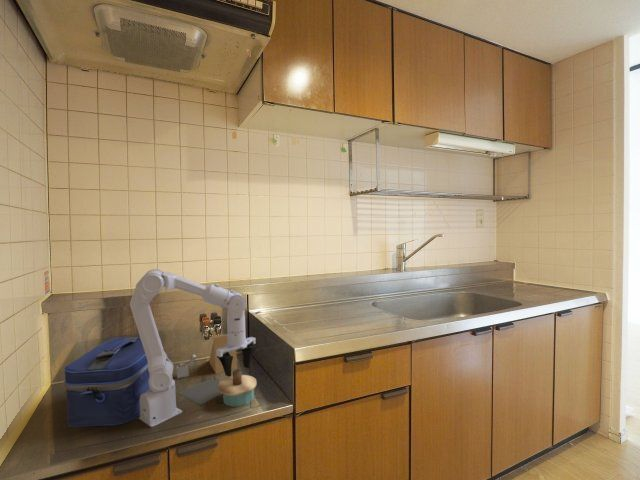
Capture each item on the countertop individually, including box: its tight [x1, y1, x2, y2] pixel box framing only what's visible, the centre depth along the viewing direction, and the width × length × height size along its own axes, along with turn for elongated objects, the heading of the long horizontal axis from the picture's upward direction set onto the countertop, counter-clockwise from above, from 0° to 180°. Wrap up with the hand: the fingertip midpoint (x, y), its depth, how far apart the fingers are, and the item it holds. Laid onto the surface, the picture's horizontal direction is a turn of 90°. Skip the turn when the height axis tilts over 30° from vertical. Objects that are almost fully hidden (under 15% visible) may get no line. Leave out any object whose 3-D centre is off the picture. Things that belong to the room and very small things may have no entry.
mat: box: [178, 378, 223, 406], centre depth 116 cm, size 13×13×1 cm
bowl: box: [222, 388, 255, 407], centre depth 111 cm, size 10×10×4 cm
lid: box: [218, 369, 257, 395], centre depth 111 cm, size 12×12×5 cm
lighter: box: [176, 353, 197, 379], centre depth 129 cm, size 7×2×8 cm, turn 114°
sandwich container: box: [208, 333, 238, 375], centre depth 138 cm, size 9×15×15 cm, turn 28°
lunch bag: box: [63, 336, 162, 428], centre depth 109 cm, size 31×21×20 cm
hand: (237, 371), depth 110 cm, fingers open, 7 cm apart
